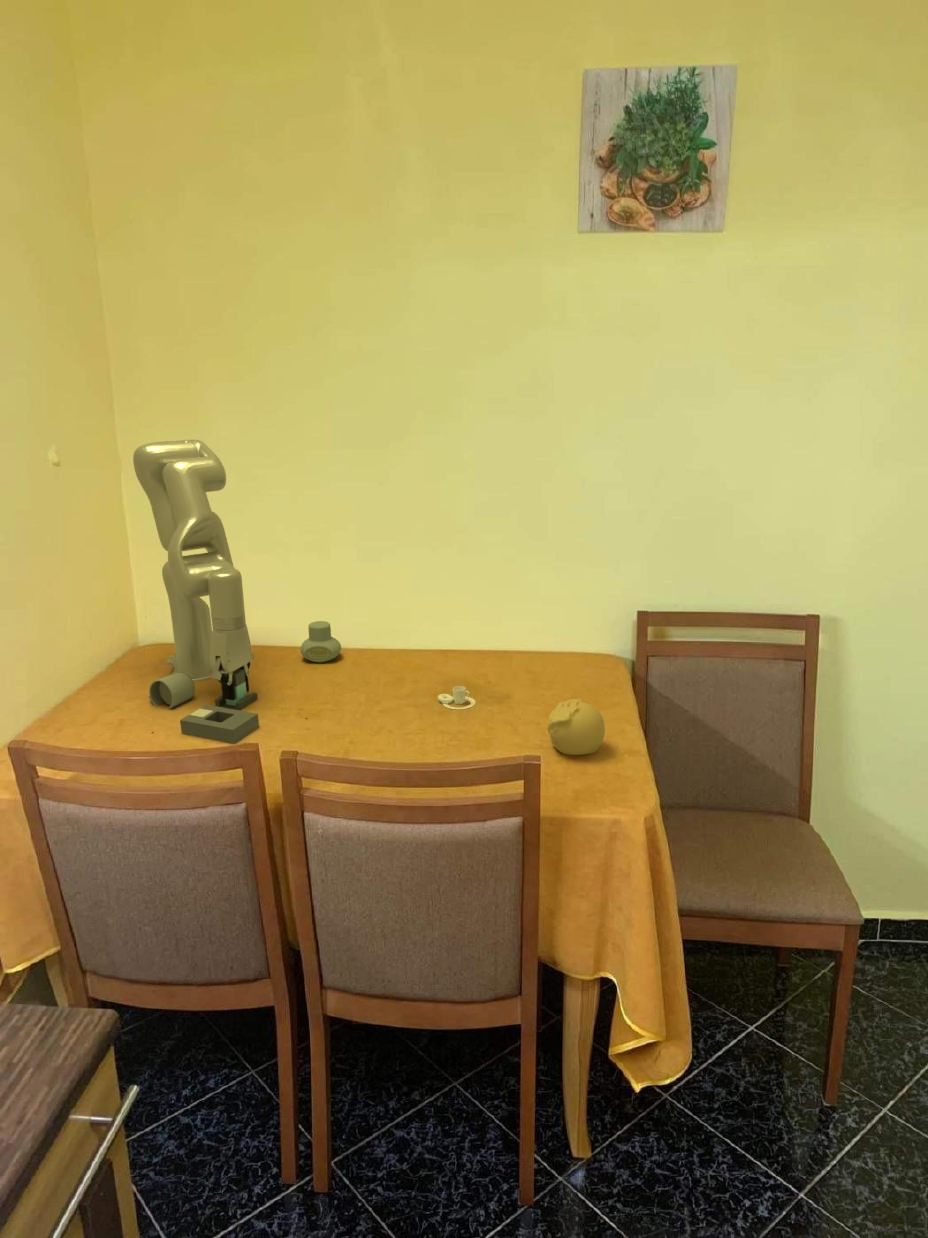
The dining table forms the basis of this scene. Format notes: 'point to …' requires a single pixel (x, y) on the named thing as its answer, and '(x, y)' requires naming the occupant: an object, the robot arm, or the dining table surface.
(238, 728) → the port panel
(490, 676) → the dining table surface
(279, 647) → the dining table surface
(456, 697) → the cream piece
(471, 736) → the dining table surface
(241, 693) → the plug
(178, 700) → the ceramic mug
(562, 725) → the sculpture
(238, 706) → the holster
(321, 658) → the air freshener
